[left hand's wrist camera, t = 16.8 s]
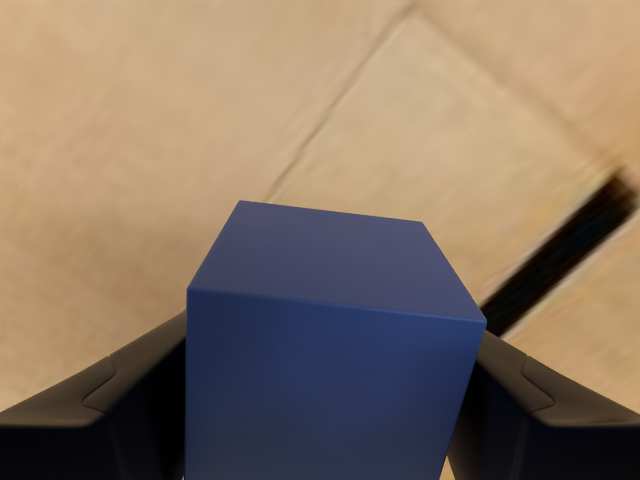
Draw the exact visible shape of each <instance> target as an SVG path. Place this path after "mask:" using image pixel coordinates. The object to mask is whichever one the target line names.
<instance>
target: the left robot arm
mask: <svg viewBox="0 0 640 480" xmlns="http://www.w3.org/2000/svg"><path fill="white" fill-rule="evenodd" d="M185 367H186V310H185V311H184V312H182V313H180V314H179V315H177V316H175V317H173V318H172V319H170V320H168V321H167V322H165V323H163V324H162V325H160V326H158V327H156V328H155V329H153V330H151V331H150V332H148V333H146V334H145V335H143V336H141V337H139V338H138V339H136V340H134V341H133V342H131V343H129V344H127V345H126V346H124V347H122V348H121V349H119V350H117V351H116V352H114V353H112V354H111V355H110V357H109V356H107V357H105V358H104V359H102V360H100V361H99V362H97V363H95V364H93V365H92V366H90V367H88V368H86V369H84V370H83V371H81V372H79V373H77V374H75V375H74V376H72V377H70V378H68V379H66V380H64V381H62V382H60V383H58V384H56V385H54V386H52V387H50V388H48V389H46V390H44V391H42V392H40V393H38V394H36V395H34V396H32V397H30V398H28V399H26V400H24V401H22V402H20V403H18V404H16V405H14V406H12V407H10V408H8V409H6V410H4V411H2V412H0V480H182V479H183V476H184V430H185ZM447 457H448V460H449V463H450V466H451V469H452V472H453V475H454V477H455V480H640V414H638V413H636V412H634V411H632V410H630V409H628V408H626V407H624V406H622V405H620V404H618V403H616V402H614V401H612V400H610V399H608V398H606V397H604V396H602V395H600V394H598V393H596V392H594V391H592V390H590V389H588V388H586V387H584V386H582V385H581V384H579V383H577V382H575V381H573V380H571V379H569V378H567V377H565V376H563V375H561V374H559V373H558V372H556V371H554V370H552V369H551V368H549V367H547V366H545V365H544V364H542V363H540V362H538V361H537V360H535V359H533V358H532V357H530V356H528V357H527V354H525V353H523V352H522V351H520V350H518V349H516V348H515V347H513V346H511V345H510V344H508V343H506V342H505V341H503V340H501V339H500V338H498V337H496V336H495V335H493V334H491V333H490V332H488V331H486V330H485V331H484V334H483V337H482V341H481V344H480V347H479V350H478V354H477V357H476V360H475V364H474V367H473V370H472V373H471V377H470V380H469V383H468V387H467V390H466V393H465V396H464V400H463V403H462V406H461V410H460V413H459V416H458V419H457V423H456V426H455V429H454V432H453V436H452V439H451V442H450V446H449V449H448V452H447Z"/></svg>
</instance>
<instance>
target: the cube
mask: <svg viewBox="0 0 640 480" xmlns="http://www.w3.org/2000/svg"><path fill="white" fill-rule="evenodd" d="M486 324H487V320H486V318H485V317H484V315H483V314H482V312H481V311H480V309H479V308H478V306H477V305H476V303H475V301H474V300H473V298H472V297H471V295H470V294H469V292H468V291H467V289H466V288H465V286H464V285H463V283H462V282H461V280H460V279H459V277H458V276H457V274H456V273H455V271H454V270H453V268H452V267H451V265H450V264H449V262H448V260H447V259H446V257H445V256H444V254H443V253H442V251H441V250H440V248H439V247H438V245H437V244H436V242H435V241H434V239H433V238H432V236H431V235H430V233H429V232H428V230H427V229H426V227H425V226H424V224H423V223H422V222H418V221H410V220H401V219H393V218H384V217H376V216H367V215H359V214H351V213H342V212H334V211H325V210H317V209H308V208H300V207H291V206H283V205H275V204H266V203H258V202H249V201H239V202H238V204H237V205H236V207H235V209H234V210H233V212H232V214H231V215H230V217H229V219H228V220H227V222H226V224H225V226H224V227H223V229H222V231H221V232H220V234H219V236H218V237H217V239H216V241H215V242H214V244H213V246H212V247H211V249H210V251H209V253H208V254H207V256H206V258H205V259H204V261H203V263H202V264H201V266H200V268H199V269H198V271H197V273H196V274H195V276H194V278H193V279H192V281H191V283H190V285H189V286H188V288H187V304H186V367H185V430H184V480H439V478H440V475H441V472H442V469H443V465H444V462H445V459H446V455H447V452H448V449H449V446H450V442H451V439H452V436H453V432H454V429H455V426H456V423H457V419H458V416H459V413H460V410H461V406H462V403H463V400H464V396H465V393H466V390H467V387H468V383H469V380H470V377H471V373H472V370H473V367H474V364H475V360H476V357H477V354H478V350H479V347H480V344H481V341H482V337H483V334H484V331H485V328H486Z"/></svg>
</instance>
